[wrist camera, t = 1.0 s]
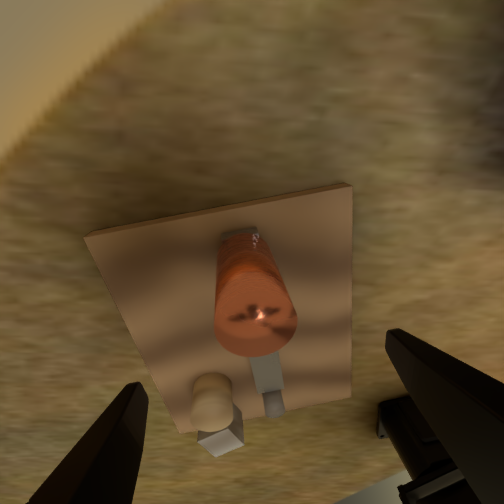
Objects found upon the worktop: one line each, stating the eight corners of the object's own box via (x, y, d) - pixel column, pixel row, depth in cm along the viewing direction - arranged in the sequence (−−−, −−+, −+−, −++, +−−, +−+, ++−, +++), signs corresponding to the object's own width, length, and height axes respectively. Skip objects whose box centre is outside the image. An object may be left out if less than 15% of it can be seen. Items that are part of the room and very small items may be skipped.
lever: (287, 375, 24) (315, 476, 17) (249, 383, 24) (261, 487, 17) (264, 221, 17) (293, 283, 10) (211, 232, 17) (204, 300, 10)
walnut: (235, 394, 25) (236, 426, 22) (199, 401, 24) (196, 435, 22) (227, 369, 23) (228, 400, 20) (189, 377, 23) (184, 409, 20)
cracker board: (346, 387, 28) (365, 427, 24) (181, 421, 27) (175, 468, 23) (344, 182, 18) (377, 195, 14) (91, 231, 18) (56, 258, 14)
